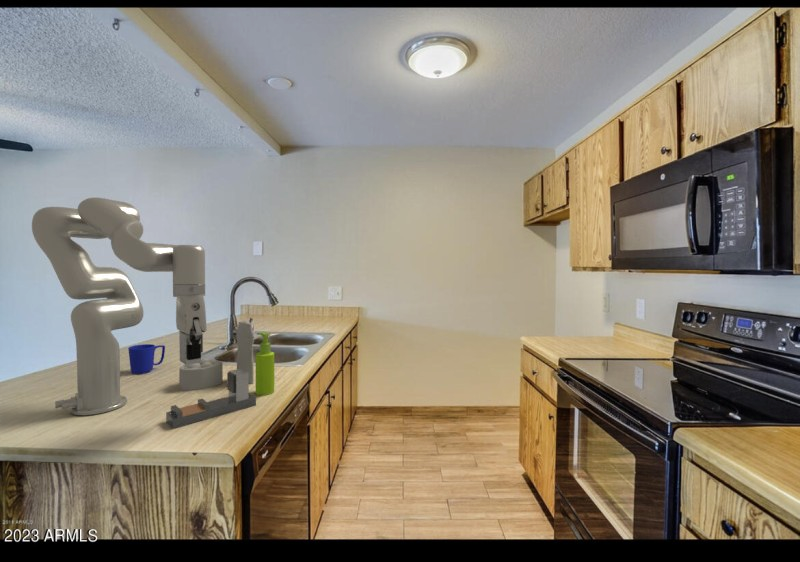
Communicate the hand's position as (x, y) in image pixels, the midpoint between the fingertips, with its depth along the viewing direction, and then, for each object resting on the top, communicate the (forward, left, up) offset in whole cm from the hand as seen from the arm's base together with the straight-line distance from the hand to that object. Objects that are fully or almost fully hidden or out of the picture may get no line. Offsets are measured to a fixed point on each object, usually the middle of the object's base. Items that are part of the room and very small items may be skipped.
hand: (190, 356), depth 96 cm
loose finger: (0, 0, -2) cm, 2 cm away
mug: (+2, +58, -18) cm, 61 cm away
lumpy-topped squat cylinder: (+11, +28, -18) cm, 35 cm away
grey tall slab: (+24, +21, -18) cm, 36 cm away
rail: (+6, 0, -18) cm, 19 cm away
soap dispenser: (+24, +6, -18) cm, 30 cm away
